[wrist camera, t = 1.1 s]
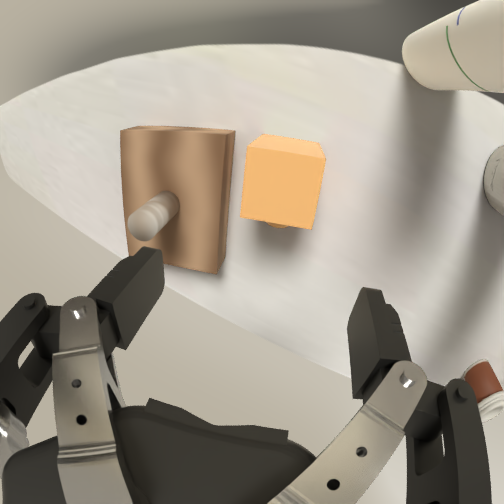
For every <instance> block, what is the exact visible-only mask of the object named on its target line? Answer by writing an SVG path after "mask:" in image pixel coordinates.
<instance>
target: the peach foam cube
mask: <svg viewBox="0 0 504 504" xmlns="http://www.w3.org/2000/svg"><path fill="white" fill-rule="evenodd" d="M325 162H326V158H325V156H324V153H323V151H322V148H321V146H320V144H319V143H316V142H311V141H305V140H300V139H294V138H287V137H281V136H274V135H267V134H262V135H261V136H260V137H258V138H257V139H256V140H255V141H253V142H252V143H251V144H249V145H248V146H247V153H246V163H245V172H244V182H243V192H242V202H241V213H240V217H241V218H247V219H253V220H259V221H265V222H266V223H267V224H268V225H270V226H272V227H276V228H286V227H288V226H294V227H299V228H305V229H310V230H312V226H313V222H314V217H315V212H316V207H317V203H318V198H319V193H320V188H321V183H322V178H323V172H324V167H325Z"/></svg>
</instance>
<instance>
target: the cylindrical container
mask: <svg viewBox="0 0 504 504" xmlns="http://www.w3.org/2000/svg"><path fill="white" fill-rule="evenodd" d="M402 55H403V61H404V64H405V66H406V68H407V70H408V72H409V73H410V74H411V76H412V77H413V78H414V79H415V80H416V81H417V82H418V83H420V84H421V85H423V86H424V87H426V88H429V89H432V90H468V91H488V92H500V93H504V0H480V1H477V2H475V3H473V4H470V5H468V6H466V7H464V8H461V9H459V10H457V11H455V12H453V13H451V14H449V15H446V16H445V17H443V18H440V19H438V20H437V21H434V22H432V23H431V24H429V25H427V26H425V27H423V28H421V29H419V30H417V31H416V32H414V33H412V34H410V35H409V36H408V37H407V38H406V39H405V41H404V43H403V47H402Z"/></svg>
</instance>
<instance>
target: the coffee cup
mask: <svg viewBox="0 0 504 504" xmlns="http://www.w3.org/2000/svg"><path fill="white" fill-rule="evenodd" d="M464 378H465V381H466V382H467V383H468V384H470V386H471V387H472V388H473V390H474V392H475V396H476V400H477V404H478V408H479V412H480V416H481V421H482V423H484V422H486V421H489V420H491V419H492V418H494V417H496V416H497V415H498V414H500V413H501V412H502V411H503V410H504V391H503V389H502V387H501V385H500V383H499V381H498V379H497V377H496V375H495V373H494V371H493V369H492V367H491V365H490V364H489V362H488V360H487V359H482V360H479V361H477V362H475V363H473V364H472V365H471V366H469V367H468V368H467V370H466V371H465V373H464Z"/></svg>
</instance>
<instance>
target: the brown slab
mask: <svg viewBox="0 0 504 504" xmlns="http://www.w3.org/2000/svg"><path fill="white" fill-rule="evenodd" d="M234 139H235V131H233V130H222V129H210V128H195V127H174V126H137V127H132V128H128V129H124V130H121V131H120V148H121V177H122V194H123V207H124V218H125V228H126V237H127V245H128V252H129V256H134V255H135V254H136V253H137V252H138V251H139V249H140V248H141V247H143V246H146V247H151V248H156V249H160V250H161V251H162V255H163V263H164V264H168V265H173V266H178V267H183V268H188V269H193V270H198V271H202V272H207V273H213V274H217V273H218V271H219V269H220V267H221V265H222V262H223V260H224V258H225V251H226V237H227V223H228V209H229V197H230V184H231V173H232V161H233V150H234Z"/></svg>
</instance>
